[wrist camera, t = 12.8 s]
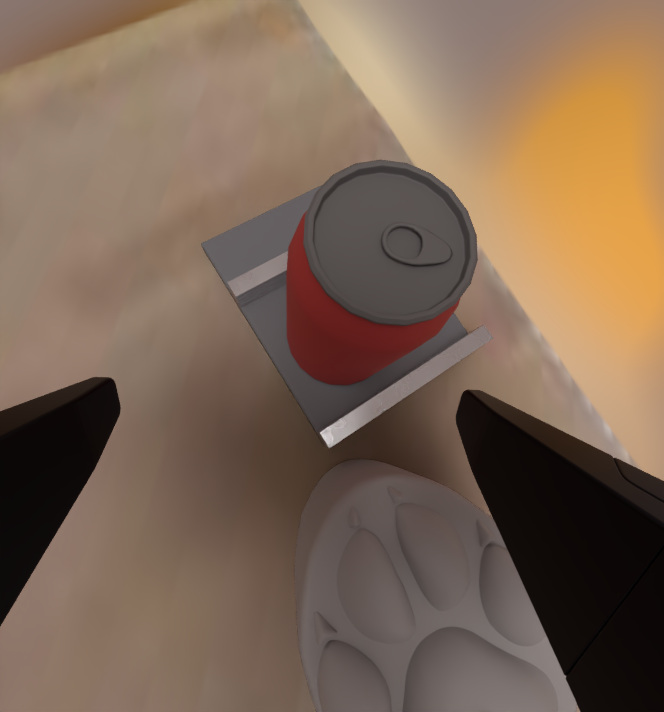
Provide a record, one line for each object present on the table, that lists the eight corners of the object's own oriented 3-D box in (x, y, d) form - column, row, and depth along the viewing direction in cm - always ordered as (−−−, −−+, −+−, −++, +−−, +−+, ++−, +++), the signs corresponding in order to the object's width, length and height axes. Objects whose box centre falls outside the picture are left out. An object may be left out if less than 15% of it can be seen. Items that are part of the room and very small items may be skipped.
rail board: (324, 445, 22) (329, 448, 19) (204, 251, 23) (192, 226, 21) (468, 348, 24) (493, 338, 22) (352, 178, 26) (360, 147, 23)
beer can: (379, 396, 22) (484, 362, 10) (275, 374, 21) (262, 311, 10) (395, 299, 23) (503, 173, 12) (298, 276, 23) (311, 119, 11)
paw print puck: (352, 728, 19) (402, 963, 11) (260, 503, 21) (242, 554, 13) (504, 627, 21) (647, 759, 13) (409, 428, 23) (480, 429, 15)
